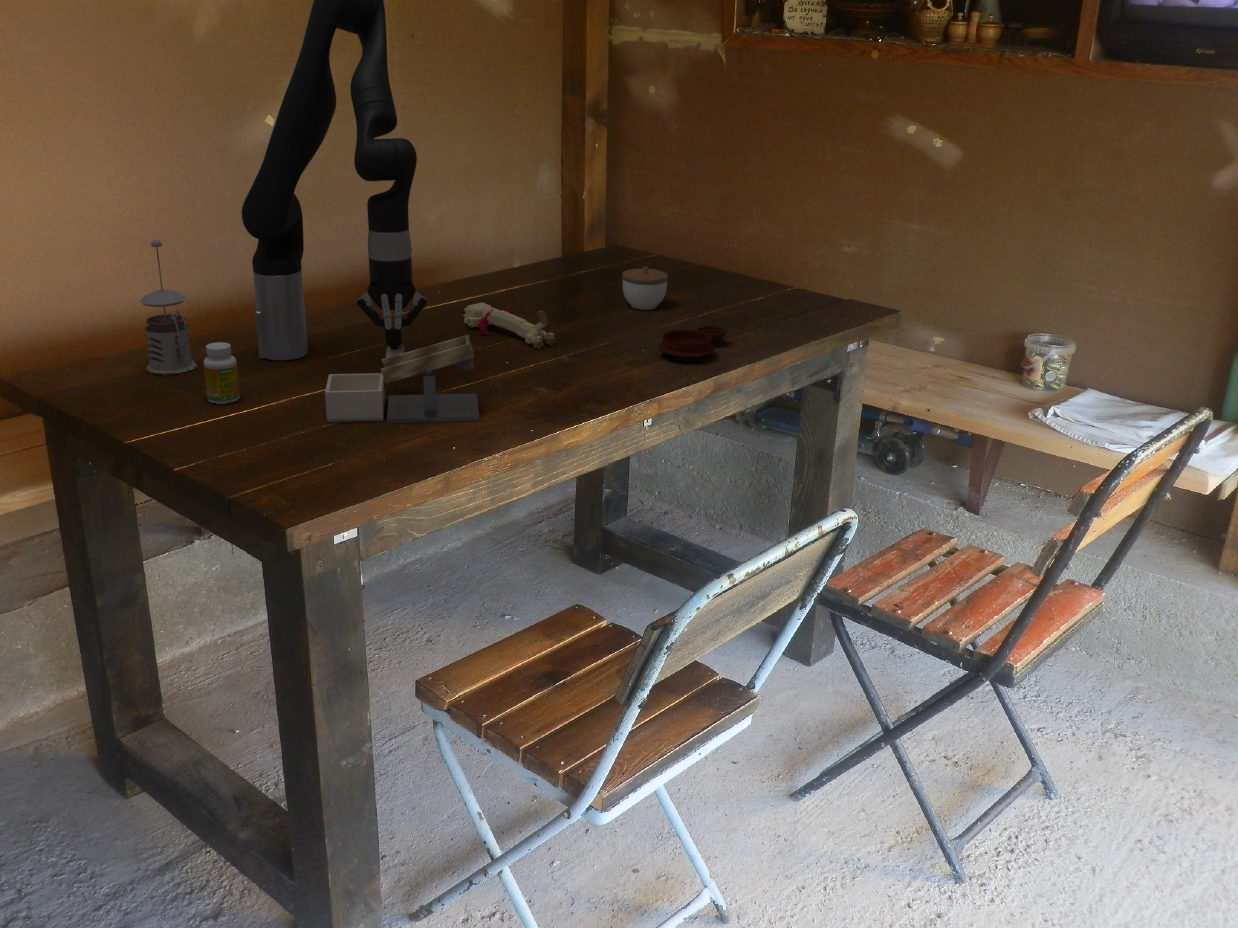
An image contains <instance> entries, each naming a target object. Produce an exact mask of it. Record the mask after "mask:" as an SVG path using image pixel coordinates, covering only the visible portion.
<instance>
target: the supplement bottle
mask: <svg viewBox="0 0 1238 928" xmlns="http://www.w3.org/2000/svg"><path fill="white" fill-rule="evenodd" d="M205 351H206V355H207V357H205V358H204V360H203V373H204V378H205V388H206V390H205V391H206V398H207V399H206V400H207V401H208V402H209V403H211V402H212V403H211V404H214V403H216V404H215V405H227V404H226V403H229V404H231V403H230V402H233V403H235V402H234V401H236V402H237V401H239V400H240V398H241V397H240V396H241V395H240V394H241V393H240V385H239V384H240V383H239V372H238V363H237V358H236V357H235V356H233V355H232V347H231V344H230V343H228V342H212V343H207V345H206V346H205ZM238 399H239V400H238Z"/></svg>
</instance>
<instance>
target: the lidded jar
mask: <svg viewBox="0 0 1238 928" xmlns="http://www.w3.org/2000/svg"><path fill="white" fill-rule="evenodd" d="M621 279H622V292H623V296H624V298H625V300H626V301H627V303H628V304H630V307H631V308H633V309H636V310H643V311H648V310H654V309H656V308H658V307H657V306H659V305H660V304H661V303H662V301H663V300H664V298H665V297H666V294H667V293H666V292H667V290H668V289H667V287H668V279H669V275H668V273H666V272H665V271H662V270H658V269H653V268H649V267H648V266H643V267H642V268H632V269H627V270H625V271H623V272H622V274H621Z"/></svg>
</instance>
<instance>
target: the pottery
mask: <svg viewBox="0 0 1238 928" xmlns="http://www.w3.org/2000/svg"><path fill="white" fill-rule="evenodd" d="M727 332H728V331H727V330H726V329H725V328H723V327H718V326H702V327H698V328H696V330H693V329H673V330H669V331H666V332H664V333H663V334H662V338H661V339H662V341H661V342H660V343H659V344H658V345H657V348H658V350H659V351H661V352H663V353H665V354H667V355H670V356H671V357H672V358H673V359H674V358H675V359H674V360H677V361H678V360H679V361H682V360H684V362H685V361H686V362H691V361H690V360H694V361H698V360H700V359H701V357H705V356H709V355H711V354H713V353H715V350H716V348H715V346H718V344H719V343H718V342H720V341H722V339H723V337H725V336H726V334H727ZM699 358H700V359H699Z"/></svg>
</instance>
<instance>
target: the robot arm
mask: <svg viewBox="0 0 1238 928" xmlns="http://www.w3.org/2000/svg"><path fill="white" fill-rule="evenodd" d="M385 8H386V7H385V1H384V0H313V2H312V5H311V8H310V9H311V10H310V13H309V18H308V21H307V25H306V30H305V33H304V36H303V40H302V41H303V42H302V43H301V44H302V45H301V49H300V52H299V54H298V57H297V59H296V64H295V66H294V69H293V72H292V75H291V77H290V81H289V82H288V86H287V88H286V91H285V93H284V96H283V99H282V101H281V104H280V107H279V110H278V113H277V116H276V120H275V122H274V123H275V124H274V125H273V126H274V127H273V129H272V132H271V135H270V137H269V138H270V139H269V141H268V144H267V147H266V151H265V154H264V156H263V159H262V160H263V161H262V163H261V166H260V168H259V170H258V172H257V175H256V177H255V178H254V180H253V183H252V185H251V187H250V189H249V191H248V193H247V195H246V197H245V199H244V201H243V204H242V208H241V220H242V225H243V226H244V229H246V231H247V233H248V234H249V235H250V236H252V237H253V238H255V239H258V241H257V245H256V249H255V251H254V253H253V255H252V261H251V262H252V263H251V264H252V273H253V274H252V275H253V283H254V295H255V307H256V308H255V312H254V318H255V328H256V338H257V348H258V359H265V358H267V359H266V360H272V361H290V360H296V359H301V358H303V357H305V356H307V355H308V354H309V351H308V350H309V349H308V335H307V324H306V323H307V321H306V309H305V296H304V294H305V293H304V283H303V270H302V269H303V268H302V259H303V255H304V249H305V244H304V223H303V221H304V220H303V219H304V218H303V211H302V210H303V209H302V206H301V202H300V200H299V198H298V197H297V195H296V193H295V191H296V187H297V185H298V182H299V180H300V179H301V176H302V174H303V173H304V171H305V169H306V168H307V167H308V165H309V164H310V163H311V161H312V159H313V158H314V156H315V155H316V153H317V152H318V150H319V148H320V147H321V145H322V143H323V142H324V139H325V137H326V135H327V134H328V131H329V128H330V125H331V123H332V120H333V118H334V115H335V112H336V108H337V93H336V87H335V83H334V79H333V75H332V69H331V63H330V60H331V59H330V54H331V46H332V43H333V39H334V36H335V33H336V30H337V29H339V30H341V31H344V32H348V33H350V34H353V35H357V37H358V39H359V42H360V45H361V49H362V52H361V53H362V54H361V57H360V59H359V62H358V63H357V66H356V68H355V70H354V72H353V74H352V77H351V80H350V97H351V102H352V107H353V112H354V117H355V118H354V119H355V122H356V123H355V124H356V142H355V148H354V156H353V157H354V158H353V159H354V161H353V162H354V164H353V165H354V168H355V171H356V173H357V175H358V176H359V177H360V178H361V179H362V180H363V181H366V182H387V181H394V182H393V184H392V186H391V187H390V188H389V189H387V190H386V191H383V192H379V193H376V194H373V195H371V196H370V197H369V198H368V199H367V203H366V208H367V209H366V210H367V226H368V233H367V234H368V235H367V253H368V255H367V257H368V269H369V271H368V272H369V284H368V287H367V292H366V293H364V294H363V295H362V296H361V295H360V296H358V297H357V301H356V305H357V306H358V307H359V309H361V311H362V312H363V313H364V314H365V315H366V316H367V317H368V319H370V321H371V322H372V323H373V324H374V325H375V326H376V327H382V328H384V330H385V333H384V334H385V344H386V346H387V347H390V349H398V345H401V343H403V342H402V341H403V339H402V336H403V335H402V329H403V328H404V327H410V326H411V324H412V323H413V322H414V320H415V319H416V318H417V317H418V316H419V314H420V313H421V311H422V310H423V309H424V308H425V307H426V305H427V304H428V299H427V297H426V295H421V293H419V292H418V291H416V290H417V289H416V286H415V285H414V282H413V263H412V261H413V260H412V252H413V249H412V240H411V233H410V224H409V223H410V221H409V202H410V195H411V189H412V184H413V180H414V177H415V173H416V170H417V169H416V168H417V162H418V156H417V150H416V148H415V147H414V144H413V143H412V142H411V141H410V140H409V139H406V138H403V137H398V138H397V137H395V138H393V137H392V138H380V137H382V136H385V135H389V134H390V133H391V132H393V131H394V130H395V129H396V127H397V125H398V115H397V111H396V107H395V103H394V98H393V94H392V90H391V83H390V78H389V77H390V76H389V69H388V68H389V65H388V45H387V44H388V42H387V41H388V40H387V24H386V23H387V22H386V21H387V19H386V9H385ZM412 299H413V300H412ZM372 301H373V302H374V304H375V305H376V306H377V307H378V308H379V309H380V310H382V314H383V315H382V316H383V317H382V316H381V315H380V314H379V313H378V312H377V311H376V309H374V307H372ZM411 301H412V304H413V306H412V307H411V309H410V310H409V311H408V312H407V314H406V315H405V316H404V317H402V314H403V310H404V309H405V308H406V307H407V306H408V305H409V303H410V302H411ZM392 311H394V324H393V320H392V319H393V318H392Z"/></svg>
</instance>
